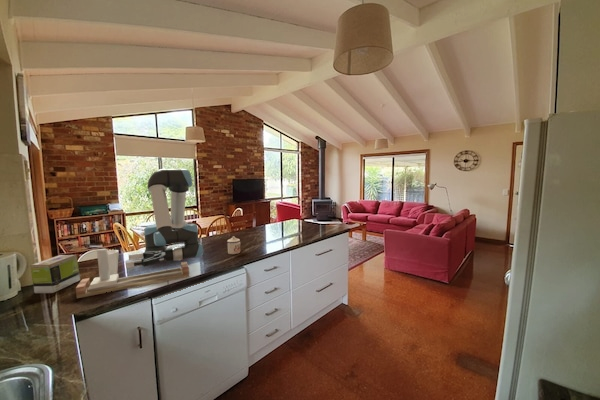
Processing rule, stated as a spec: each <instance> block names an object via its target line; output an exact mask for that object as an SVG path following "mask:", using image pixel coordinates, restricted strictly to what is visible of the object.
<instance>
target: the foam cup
mask: <svg viewBox="0 0 600 400" xmlns="http://www.w3.org/2000/svg"><path fill="white" fill-rule="evenodd" d="M119 251H120V250H119V249H111V250H110V249H109V250H107V253H108V263H109V273H110V275H114V274H118V269H119V268H118V267H119V255H120V252H119Z"/></svg>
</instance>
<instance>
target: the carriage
mask: <svg viewBox="0 0 600 400" xmlns="http://www.w3.org/2000/svg"><path fill="white" fill-rule="evenodd" d="M107 251H108V249H107V248H100V249H97V250H96V254H97V263H98V275H99V276H97V277H94V278H93V280H92V281H91V282H90V283H91V284H90V289H93V288H99V287H104V286H109V285H115V284H116V283H117V281H118V278H120V276H119V273H117V274H114V275H110V273H109V263H108V253H107Z"/></svg>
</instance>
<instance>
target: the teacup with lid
mask: <svg viewBox="0 0 600 400" xmlns="http://www.w3.org/2000/svg"><path fill="white" fill-rule="evenodd" d="M226 242H227V253H228V255H237V254H240V253H241V240H240V238H237V237H235V236H232V237H230V238H229V239H227V241H226Z"/></svg>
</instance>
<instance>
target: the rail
mask: <svg viewBox="0 0 600 400" xmlns="http://www.w3.org/2000/svg"><path fill="white" fill-rule="evenodd" d="M188 277H190V268H189V265H188V261H182V262H181V261H180V267H176V268H175V267H174V268H169V269H163V270H157V271H152V272H146V273H141V274H135V275H129V276H124V277H119V278H118V281H117V283H116V284H115V285H109V286H104V287H99V288H93V289H90V284H91V283H92V282H91V277H87V278H86V277H85V278H82V279H80V280H79V281H80V282H79V283H78V284H76V285H77V286H76V287H75V293H76V295H75V296H76V299H80V298H86V297H90V296H91V297H92V296H95V295H100V294H101V295H103V294H107V293H112V292H117V291H121V290H127V289H132V288H136V287H142V286H147V285H151V284H152V285H153V284H157V283H162V282H167V281H173V280H179V279H183V278H188ZM111 291H112V292H111ZM106 292H107V293H106Z"/></svg>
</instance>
